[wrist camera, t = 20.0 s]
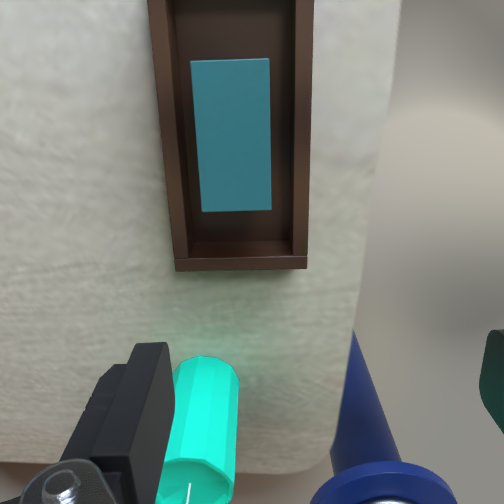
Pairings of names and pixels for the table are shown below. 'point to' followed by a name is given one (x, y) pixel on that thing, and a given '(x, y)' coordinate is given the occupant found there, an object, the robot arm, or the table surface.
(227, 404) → the candle
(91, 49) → the table surface
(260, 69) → the block
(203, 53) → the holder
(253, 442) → the table surface
